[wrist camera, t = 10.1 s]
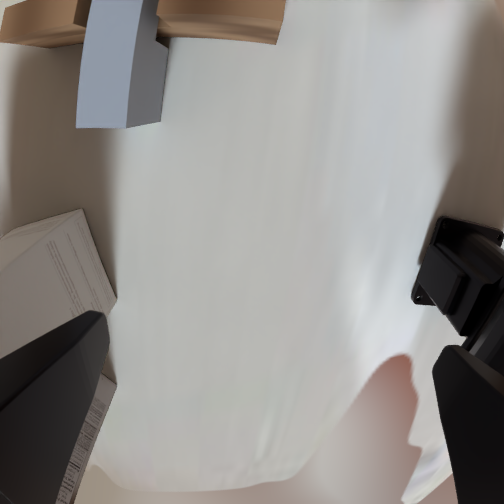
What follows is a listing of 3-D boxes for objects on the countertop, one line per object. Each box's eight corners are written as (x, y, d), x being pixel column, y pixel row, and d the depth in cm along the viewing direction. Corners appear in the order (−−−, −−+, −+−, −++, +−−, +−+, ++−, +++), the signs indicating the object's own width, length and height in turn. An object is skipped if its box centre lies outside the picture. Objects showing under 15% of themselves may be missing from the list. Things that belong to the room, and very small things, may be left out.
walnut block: (280, 12, 14) (288, -20, 9) (275, 44, 14) (282, 21, 10) (53, 20, 13) (5, 7, 9) (48, 48, 14) (-2, 41, 9)
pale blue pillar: (191, -62, 11) (171, -103, 7) (160, 121, 16) (126, 128, 12) (150, -59, 11) (121, -95, 7) (119, 120, 16) (75, 128, 12)
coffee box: (78, 411, 28) (29, 532, 14) (32, 373, 26) (-33, 492, 11) (120, 386, 26) (65, 545, 11) (65, 339, 23) (-21, 494, 9)
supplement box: (12, 226, 19) (-105, 321, 8) (85, 205, 19) (-55, 321, 7) (47, 310, 22) (-35, 423, 11) (120, 303, 22) (42, 450, 10)
